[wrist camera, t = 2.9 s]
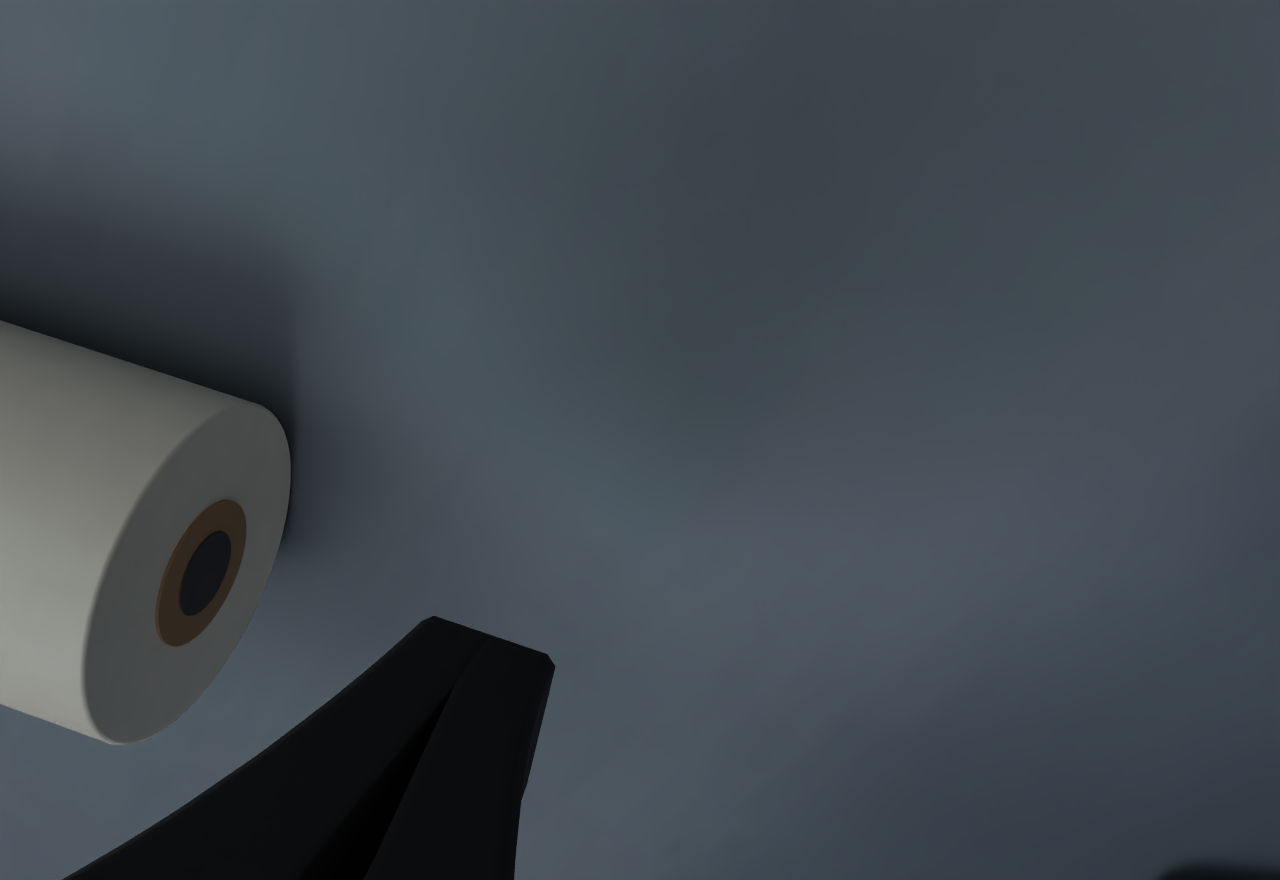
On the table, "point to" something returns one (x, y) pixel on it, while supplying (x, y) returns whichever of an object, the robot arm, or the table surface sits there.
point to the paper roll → (126, 535)
